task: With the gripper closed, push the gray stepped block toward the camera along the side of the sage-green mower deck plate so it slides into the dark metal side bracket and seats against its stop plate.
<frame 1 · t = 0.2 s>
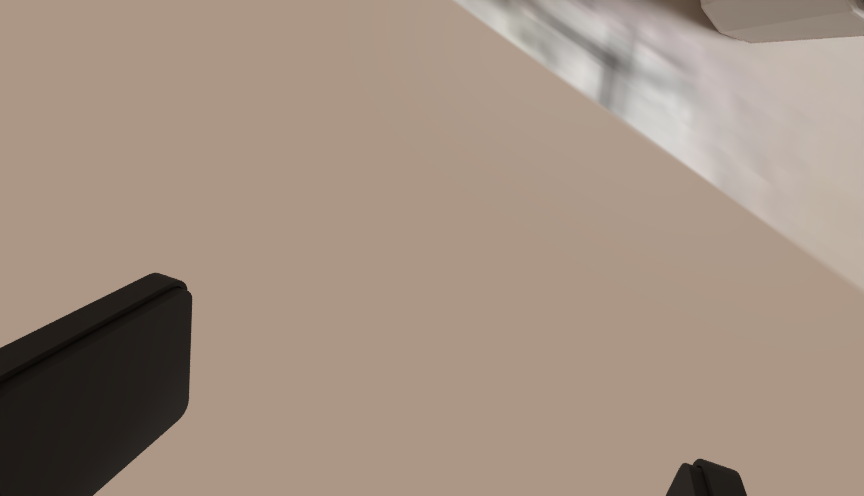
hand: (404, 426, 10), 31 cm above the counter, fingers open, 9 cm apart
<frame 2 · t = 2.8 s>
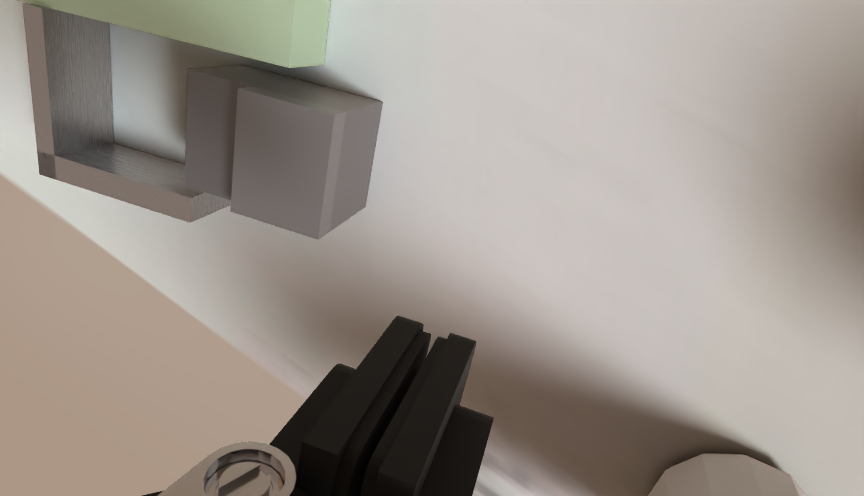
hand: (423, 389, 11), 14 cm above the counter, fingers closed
side bracket: (165, 95, 27), on the counter
gray stepped block: (307, 136, 26), on the counter
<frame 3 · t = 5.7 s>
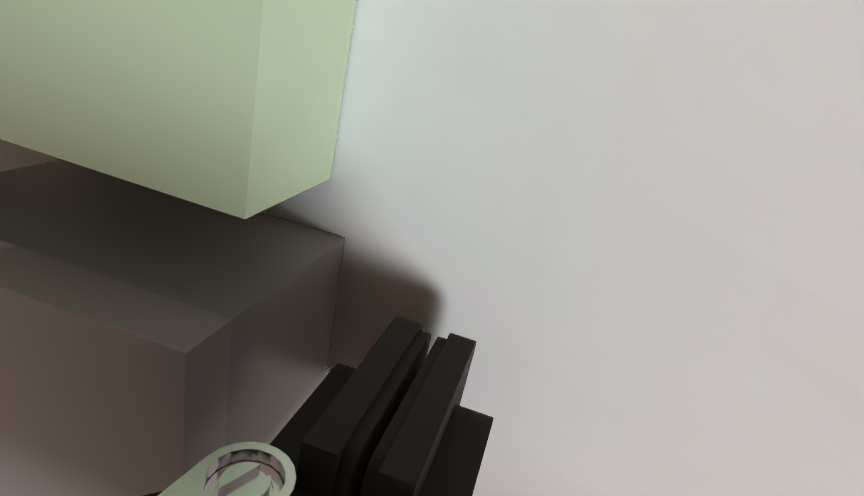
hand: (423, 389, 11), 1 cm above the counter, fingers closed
gray stepped block: (201, 291, 13), on the counter, touching gripper
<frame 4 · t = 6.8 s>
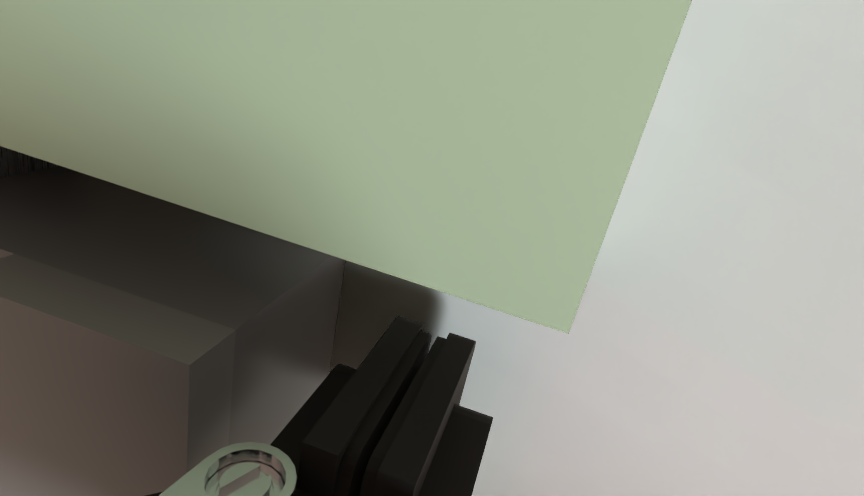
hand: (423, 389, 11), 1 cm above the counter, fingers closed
side bracket: (189, 277, 13), on the counter
gray stepped block: (201, 298, 13), on the counter, touching gripper, side bracket
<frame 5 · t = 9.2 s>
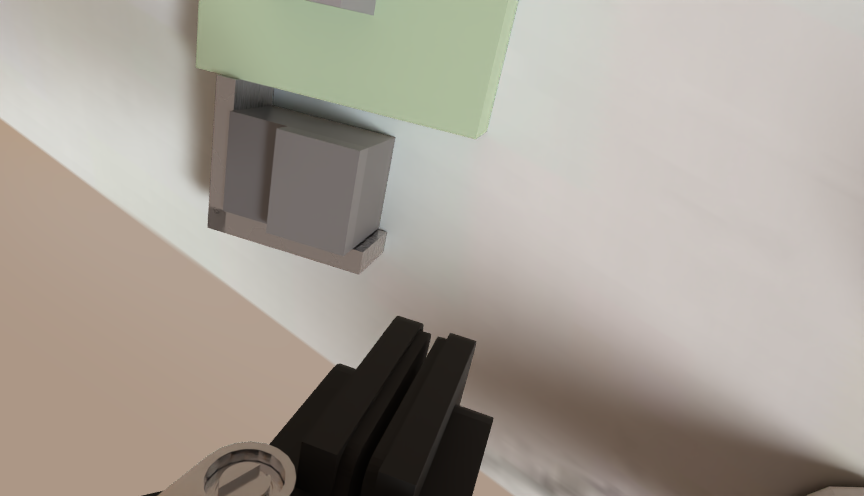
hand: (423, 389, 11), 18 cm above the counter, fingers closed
side bracket: (323, 154, 29), on the counter
gray stepped block: (327, 166, 29), on the counter
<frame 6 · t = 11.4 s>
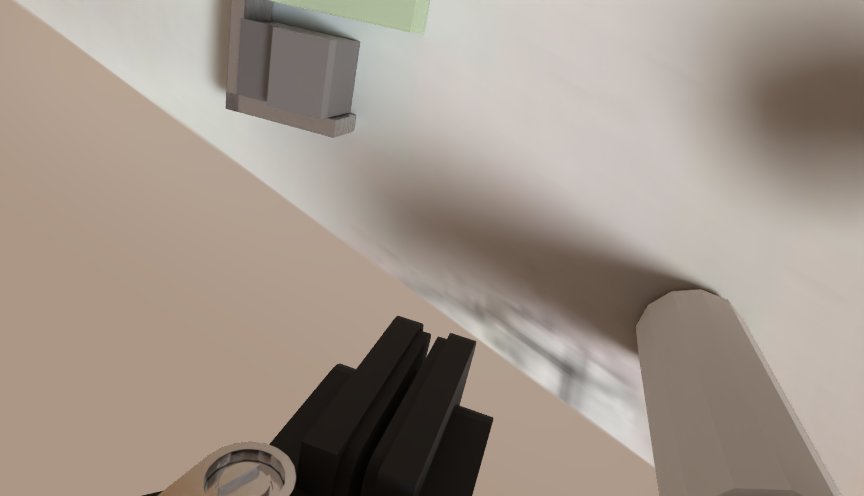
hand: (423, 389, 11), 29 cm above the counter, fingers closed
water bottle: (697, 337, 39), on the counter
side bracket: (309, 56, 40), on the counter
gray stepped block: (312, 67, 40), on the counter, touching side bracket
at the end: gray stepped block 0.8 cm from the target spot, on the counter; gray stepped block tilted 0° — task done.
